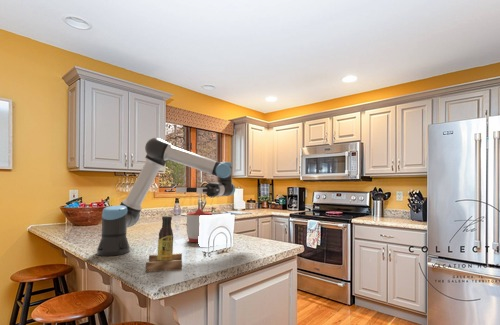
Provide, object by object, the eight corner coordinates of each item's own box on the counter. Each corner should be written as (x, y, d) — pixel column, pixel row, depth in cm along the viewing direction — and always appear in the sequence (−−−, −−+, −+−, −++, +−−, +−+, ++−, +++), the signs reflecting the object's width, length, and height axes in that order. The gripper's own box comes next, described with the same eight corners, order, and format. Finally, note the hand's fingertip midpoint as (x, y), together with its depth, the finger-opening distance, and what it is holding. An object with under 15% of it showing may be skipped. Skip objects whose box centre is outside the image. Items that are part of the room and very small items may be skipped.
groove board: (145, 271, 114) (145, 262, 114) (149, 262, 126) (149, 255, 127) (181, 269, 117) (181, 260, 117) (181, 260, 130) (181, 253, 130)
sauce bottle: (162, 266, 117) (163, 217, 119) (154, 263, 121) (155, 216, 123) (175, 263, 122) (176, 216, 124) (167, 260, 126) (168, 215, 128)
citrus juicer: (206, 244, 165) (207, 209, 167) (180, 242, 171) (181, 209, 172) (218, 239, 180) (218, 207, 181) (194, 238, 185) (194, 207, 187)
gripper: (233, 197, 148) (206, 198, 130) (197, 196, 161) (168, 197, 143) (233, 182, 148) (206, 182, 130) (197, 182, 161) (168, 182, 143)
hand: (186, 190), depth 136 cm, fingers open, 13 cm apart
